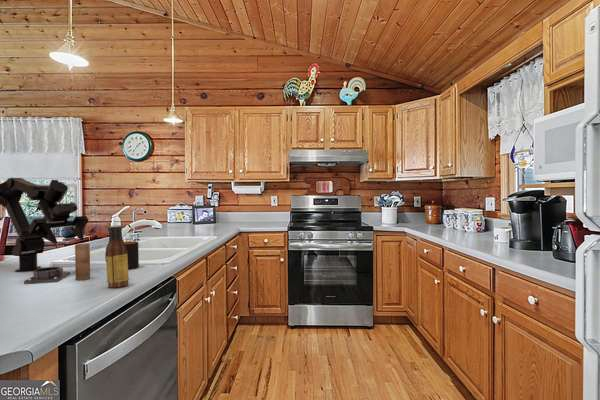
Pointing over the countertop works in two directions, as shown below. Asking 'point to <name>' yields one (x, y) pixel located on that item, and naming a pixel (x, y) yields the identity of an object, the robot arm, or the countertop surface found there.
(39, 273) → the bracket
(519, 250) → the countertop surface
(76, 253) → the brown round cylinder
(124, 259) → the sauce bottle
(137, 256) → the mug
